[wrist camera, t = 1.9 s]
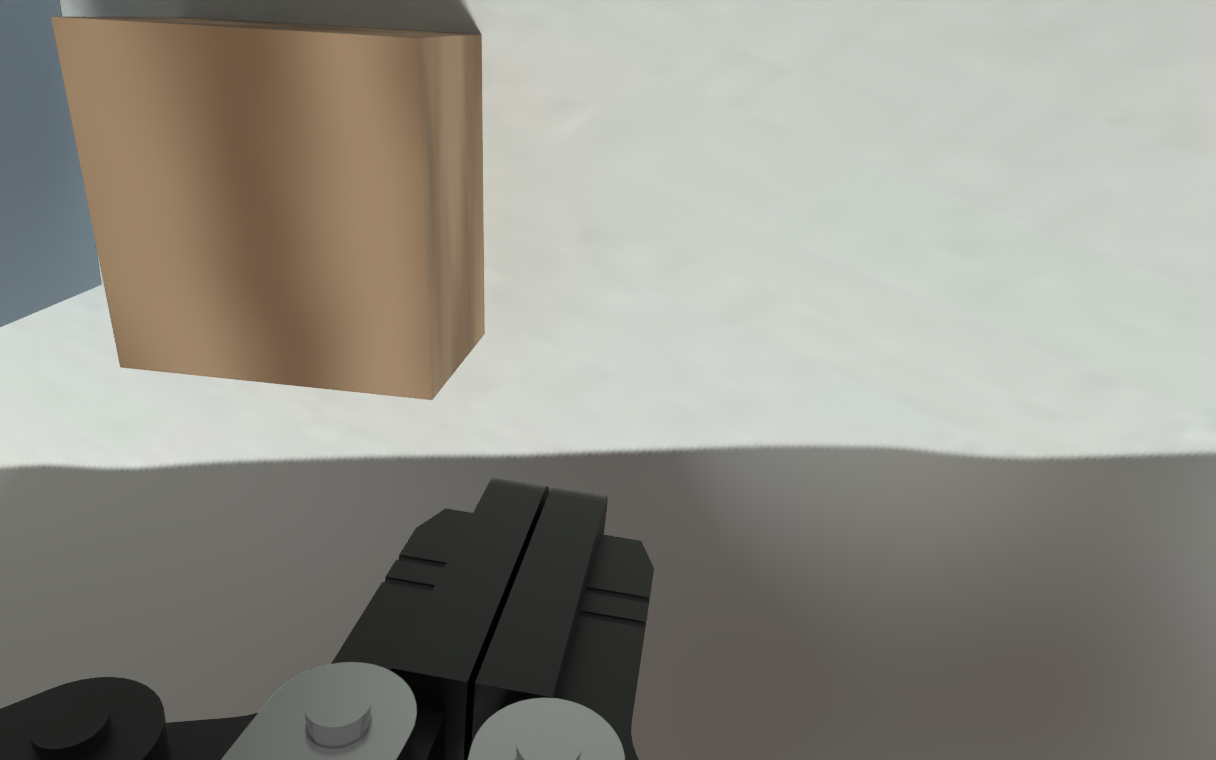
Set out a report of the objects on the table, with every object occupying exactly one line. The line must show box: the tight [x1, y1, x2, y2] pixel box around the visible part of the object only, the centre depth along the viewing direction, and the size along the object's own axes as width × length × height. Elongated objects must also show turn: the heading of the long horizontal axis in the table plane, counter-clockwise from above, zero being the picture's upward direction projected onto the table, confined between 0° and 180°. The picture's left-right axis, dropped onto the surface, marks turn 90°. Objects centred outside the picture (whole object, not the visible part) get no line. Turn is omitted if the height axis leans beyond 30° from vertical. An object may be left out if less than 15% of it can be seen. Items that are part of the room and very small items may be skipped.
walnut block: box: [51, 17, 485, 400], centre depth 26 cm, size 10×10×6 cm
